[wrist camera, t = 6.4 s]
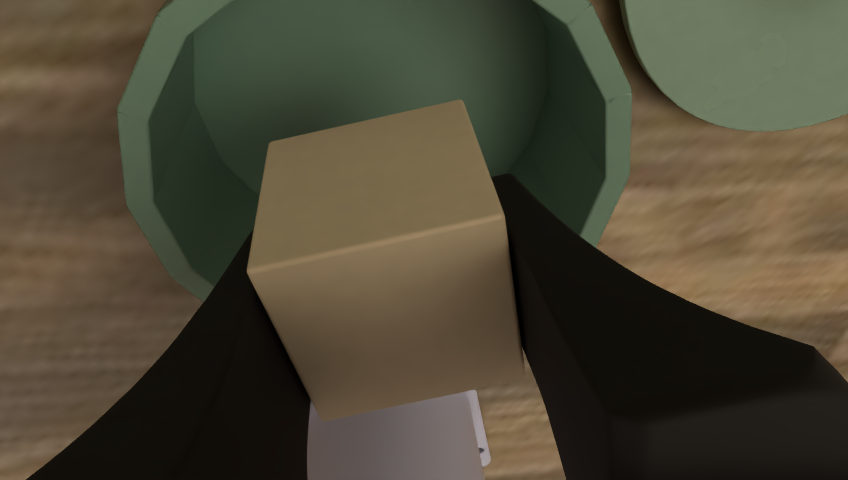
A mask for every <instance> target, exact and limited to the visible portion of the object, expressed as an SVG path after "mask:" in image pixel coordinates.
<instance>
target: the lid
mask: <svg viewBox="0 0 848 480" xmlns="http://www.w3.org/2000/svg"><path fill="white" fill-rule="evenodd" d="M619 3H620V8H621V13H622V18H623V24H624V28H625V30H626V33H627V36H628V39H629V42H630V45H631V48H632V50H633V52H634V54H635V55H636V57H637V59H638V61H639V63H640V65H641V66H642V68H643V70H644V71H645V72H646V74H647V75H648V76H649V78H650V79H651V80H652V81H653V83H654V84H655V85H656V86H657V87H658V88H659V89H660V91H661V92H662V93H664V94H665V95H666V96H667V97H668V98H669V99H670V100H671V101H673V102H674V103H675V104H676V105H677V106H678V107H680V108H682V109H683V110H685V111H687V112H688V113H690V114H692V115H693V116H695V117H697V118H699V119H702V120H704V121H707V122H709V123H712V124H714V125H718V126H722V127H727V128H731V129H736V130H746V131H758V132H762V131H783V130H789V129H795V128H801V127H807V126H811V125H814V124H818V123H822V122H825V121H829V120H833V119H835V118H838V117H841V116H843V115H846V114H848V0H619Z"/></svg>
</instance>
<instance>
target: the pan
mask: <svg viewBox="0 0 848 480" xmlns="http://www.w3.org/2000/svg"><path fill="white" fill-rule="evenodd" d="M454 100H462V101H463V102H464V105H465V107H466V110H467V113H468V116H469V118H470V121H471V124H472V127H473V129H474V132H475V135H476V138H477V141H478V143H479V146H480V149H481V152H482V154H483V157H484V160H485V163H486V165H487V168H488V171H489V174H490V176H491V177H493V176H498V175H503V174H507V173H511V174H513V175H514V176H516V177H517V178H518V180H519V181H520V182H521V183H522V184H523V185H524V186H525V187H526V188H527V189H528V190H529V191H530V192H531V193H532V194H533V195H534V196H535V197H536V198H537V199H538V200H539V201H540V202H541V203H542V204H543V205H544V206H545V207H546V208H547V209H549V210H550V211H551V212H552V213H553V214H554V215H555V216H557V217H558V218H559V219H560V220H561V221H562V222H564V223H565V224H566V225H567V226H568V227H570V228H571V229H572V230H573V231H574V232H576V233H577V234H578V235H579V236H581V237H582V238H583V239H585V240H586V241H587V242H589V243H590V244H591V245H593V246H594V247H595V248H596V246H597V244H598V242H599V240H600V238H601V236H602V234H603V231H604V229H605V227H606V225H607V223H608V221H609V219H610V217H611V215H612V213H613V210H614V208H615V206H616V204H617V202H618V200H619V198H620V196H621V194H622V191H623V189H624V187H625V185H626V183H627V181H628V177H629V175H630V145H631V111H632V91H631V86H630V84H629V82H628V80H627V78H626V76H625V74H624V71H623V69H622V67H621V65H620V63H619V61H618V59H617V56H616V54H615V52H614V50H613V48H612V46H611V44H610V41H609V39H608V37H607V35H606V33H605V31H604V29H603V26H602V24H601V22H600V20H599V18H598V16H597V14H596V11H595V9H594V7H593V5H592V4H591V3H590V2H589V0H166V2H165V3H164V5H163V6H162V8H161V9H160V11H159V12H158V14H157V15H156V16H155V19H154V21H153V24H152V26H151V28H150V31H149V33H148V36H147V38H146V40H145V43H144V45H143V48H142V50H141V52H140V55H139V57H138V59H137V62H136V64H135V67H134V69H133V71H132V74H131V76H130V79H129V81H128V83H127V86H126V88H125V91H124V93H123V95H122V98H121V100H120V103H119V105H118V107H117V122H118V132H119V142H120V152H121V162H122V172H123V181H124V191H125V200H126V203H127V204H126V205H127V207H128V209H129V211H130V212H131V214H132V216H133V217H134V219H135V220H136V222H137V224H138V225H139V227H140V229H141V230H142V232H143V233H144V235H145V237H146V238H147V240H148V242H149V243H150V245H151V246H152V248H153V250H154V251H155V253H156V255H157V256H158V258H159V259H160V261H161V263H162V264H163V266H164V268H165V269H166V271H167V272H168V274H169V276H170V277H172V278H173V280H175V281H176V282H177V283H179V284H180V285H181V286H183V287H184V288H185V289H187V290H188V291H189V292H191V293H192V294H193V295H195V296H196V297H197V298H199V299H200V300H201V301H203V302H204V301H205V300H206V298H207V297H208V296H209V294H210V293H211V291H212V290H213V288H214V287H215V285H216V284H217V282H218V281H219V279H220V278H221V276H222V275H223V274H224V272H225V270H226V269H227V267H228V266H229V264H230V263H231V261H232V260H233V258H234V257H235V255H236V254H237V252H238V251H239V249H240V248H241V246H242V245H243V243H244V241H245V240H246V238H247V237H248V235H249V234H250V233H251V231H252V230H253V229H254V225H255V219H256V214H257V208H258V202H259V196H260V191H261V185H262V179H263V173H264V168H265V162H266V156H267V150H268V144H269V143H270V142H272V141H276V140H281V139H285V138H290V137H294V136H299V135H303V134H307V133H312V132H316V131H321V130H325V129H330V128H334V127H339V126H343V125H348V124H352V123H356V122H361V121H365V120H370V119H374V118H379V117H383V116H388V115H392V114H396V113H401V112H405V111H410V110H414V109H419V108H423V107H428V106H432V105H437V104H441V103H445V102H450V101H454Z"/></svg>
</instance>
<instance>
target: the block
mask: <svg viewBox="0 0 848 480" xmlns="http://www.w3.org/2000/svg"><path fill="white" fill-rule="evenodd" d="M247 274H248V276H249V278H250V280H251V282H252V284H253V286H254V288H255V290H256V292H257V294H258V296H259V298H260V300H261V302H262V304H263V306H264V308H265V310H266V312H267V314H268V316H269V318H270V320H271V322H272V323H273V325H274V327H275V329H276V331H277V333H278V335H279V337H280V339H281V341H282V343H283V345H284V347H285V349H286V351H287V353H288V355H289V357H290V359H291V361H292V363H293V365H294V367H295V369H296V371H297V373H298V375H299V377H300V379H301V381H302V383H303V385H304V387H305V389H306V391H307V393H308V395H309V397H310V399H311V401H312V403H313V405H314V407H315V409H316V411H317V413H318V415H319V417H320V419H321V420H322V421H328V420H333V419H338V418H342V417H347V416H352V415H357V414H361V413H366V412H371V411H376V410H380V409H385V408H390V407H395V406H399V405H404V404H409V403H414V402H419V401H423V400H428V399H433V398H438V397H442V396H447V395H452V394H457V393H461V392H466V391H471V390H476V389H481V388H485V387H490V386H495V385H500V384H504V383H509V382H514V381H519V380H523V379H524V378H525V367H524V359H523V351H522V344H521V336H520V328H519V321H518V313H517V305H516V298H515V290H514V282H513V274H512V267H511V259H510V251H509V244H508V236H507V228H506V221H505V215H504V212H503V209H502V207H501V204H500V201H499V198H498V196H497V193H496V190H495V187H494V185H493V182H492V179H491V176H490V174H489V171H488V168H487V165H486V163H485V160H484V157H483V154H482V152H481V149H480V146H479V143H478V141H477V138H476V135H475V132H474V129H473V127H472V124H471V121H470V118H469V116H468V113H467V110H466V107H465V105H464V102H463V101H462V100H454V101H450V102H445V103H441V104H437V105H432V106H428V107H423V108H419V109H414V110H410V111H405V112H401V113H396V114H392V115H388V116H383V117H379V118H374V119H370V120H365V121H361V122H356V123H352V124H348V125H343V126H339V127H334V128H330V129H325V130H321V131H316V132H312V133H307V134H303V135H299V136H294V137H290V138H285V139H281V140H276V141H272V142H270V143H269V144H268V150H267V156H266V162H265V168H264V173H263V179H262V185H261V191H260V196H259V202H258V208H257V214H256V219H255V225H254V231H253V237H252V242H251V248H250V254H249V260H248V266H247Z"/></svg>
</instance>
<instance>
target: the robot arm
mask: <svg viewBox="0 0 848 480" xmlns="http://www.w3.org/2000/svg"><path fill="white" fill-rule="evenodd" d="M491 179H492V182H493V185H494V187H495V190H496V193H497V196H498V198H499V201H500V204H501V207H502V209H503V212H504V215H505V221H506V228H507V236H508V244H509V251H510V259H511V267H512V274H513V282H514V290H515V298H516V305H517V313H518V321H519V328H520V336H521V344H522V347H523V350H524V352H525V355H526V357H527V360H528V362H529V365H530V367H531V370H532V372H533V375H534V377H535V379H536V382H537V384H538V387H539V390H540V393H541V395H542V398H543V401H544V404H545V407H546V410H547V414H548V417H549V420H550V424H551V427H552V431H553V434H554V438H555V441H556V445H557V448H558V451H559V455H560V458H561V462H562V466H563V469H564V473H565V476H566V480H848V382H847V381H846V380H845V379H844V378H843V377H842V376H841V374H840V373H839V372H838V371H837V370H836V369H835V368H834V367H833V366H832V365H831V364H830V363H829V362H828V361H827V360H826V359H825V358H824V357H823V356H822V355H821V354H820V353H819V352H818V351H817V350H816V349H815V347H813V346H811V345H808V344H804V343H801V342H798V341H795V340H792V339H789V338H786V337H783V336H779V335H776V334H773V333H770V332H767V331H764V330H761V329H758V328H754V327H751V326H749V325H746V324H743V323H740V322H738V321H735V320H733V319H730V318H728V317H725V316H723V315H720V314H717V313H715V312H712V311H710V310H707V309H705V308H703V307H701V306H698V305H696V304H694V303H691V302H689V301H687V300H685V299H683V298H681V297H679V296H677V295H675V294H673V293H671V292H669V291H667V290H665V289H662V288H660V287H658V286H656V285H654V284H653V283H651V282H649V281H647V280H645V279H643V278H642V277H640V276H638V275H637V274H635V273H633V272H632V271H630V270H628V269H627V268H625V267H623V266H622V265H620V264H619V263H617V262H616V261H614V260H613V259H611V258H610V257H608V256H607V255H605V254H604V253H602V252H601V251H600V250H598V249H597V248H595V247H594V246H593V245H591V244H590V243H589V242H587V241H586V240H585V239H583V238H582V237H581V236H579V235H578V234H577V233H576V232H574V231H573V230H572V229H571V228H570V227H568V226H567V225H566V224H565V223H564V222H562V221H561V220H560V219H559V218H558V217H557V216H555V215H554V214H553V213H552V212H551V211H550V210H549V209H547V208H546V207H545V206H544V205H543V204H542V203H541V202H540V201H539V200H538V199H537V198H536V197H535V196H534V195H533V194H532V193H531V192H530V191H529V190H528V189H527V188H526V187H525V186H524V185H523V184H522V183H521V182H520V181H519V180H518V178H517V177H516V176H514V175H513V174H511V173H507V174H503V175H498V176H493V177H491ZM253 231H254V229H253V230H252V231H251V233H250V234H249V235H248V237H247V238H246V240H245V241H244V243H243V245H242V246H241V248H240V249H239V251H238V252H237V254H236V255H235V257H234V258H233V260H232V261H231V263H230V264H229V266H228V267H227V269H226V270H225V272H224V274H223V275H222V276H221V278H220V279H219V281H218V282H217V284H216V285H215V287H214V288H213V290H212V291H211V293H210V294H209V296H208V297H207V298H206V300H205V301H204V303H203V304H202V305H201V307H200V308H199V309H198V310H197V312H196V313H195V314H194V316H193V317H192V318H191V320H190V321H189V322H188V324H187V325H186V326H185V328H184V329H183V330H182V332H181V333H180V334H179V335H178V337H177V338H176V339H175V340H174V342H173V343H172V344H171V345H170V347H169V348H168V349H167V350H166V351H165V352H164V354H163V355H162V356H161V357H160V358H159V359H158V360H157V361H156V363H155V364H154V365H153V366H152V367H151V368H150V369H149V370H148V371H147V372H146V373H145V374H144V376H143V377H142V378H141V379H140V380H139V381H138V382H137V383H136V384H135V385H134V386H133V387H132V388H131V389H130V390H129V391H128V392H127V393H126V394H125V395H124V396H123V397H122V398H121V399H119V400H118V401H117V402H116V403H115V404H114V405H113V406H112V407H111V408H110V409H109V410H108V411H107V412H106V413H105V414H104V415H103V416H102V417H101V418H100V419H98V420H97V421H96V422H95V423H94V424H93V425H92V426H91V427H90V428H89V429H87V430H86V431H85V432H84V433H83V434H82V435H80V436H79V437H78V438H77V439H76V440H75V441H73V442H72V443H71V444H70V445H69V446H68V447H66V448H65V449H64V450H63V451H61V452H60V453H59V454H58V455H56V456H55V457H54V458H53V459H52V460H50V461H49V462H48V463H47V464H45V465H44V466H43V467H42V468H40V469H39V470H38V471H36V472H35V473H34V474H32V475H31V476H30V477H29V478H27V479H26V480H485V477H484V472H483V467H484V466H486V465H488V464H489V463H490V462H491V457H490V452H489V448H488V443H487V439H486V434H485V430H484V425H483V420H482V416H481V411H480V407H479V402H478V397H477V393H476V390H471V391H466V392H461V393H457V394H452V395H447V396H442V397H438V398H433V399H428V400H423V401H419V402H414V403H409V404H404V405H399V406H395V407H390V408H385V409H380V410H376V411H371V412H366V413H361V414H357V415H352V416H347V417H342V418H338V419H333V420H328V421H322V420H321V419H320V417H319V415H318V413H317V411H316V409H315V407H314V405H313V403H312V401H311V399H310V397H309V395H308V393H307V391H306V389H305V387H304V385H303V383H302V381H301V379H300V377H299V375H298V373H297V371H296V369H295V367H294V365H293V363H292V361H291V359H290V357H289V355H288V353H287V351H286V349H285V347H284V345H283V343H282V341H281V339H280V337H279V335H278V333H277V331H276V329H275V327H274V325H273V323H272V322H271V320H270V318H269V316H268V314H267V312H266V310H265V308H264V306H263V304H262V302H261V300H260V298H259V296H258V294H257V292H256V290H255V288H254V286H253V284H252V282H251V280H250V278H249V276H248V274H247V266H248V260H249V254H250V248H251V242H252V237H253Z"/></svg>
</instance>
